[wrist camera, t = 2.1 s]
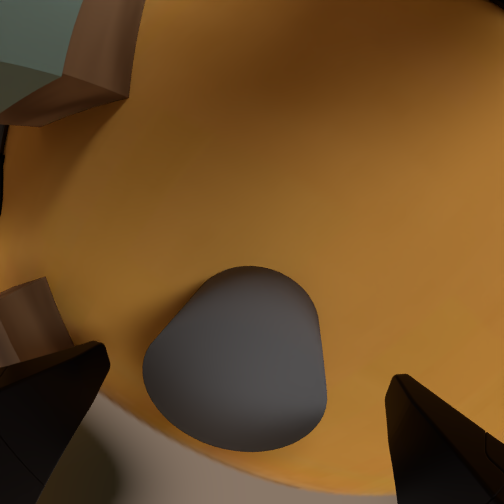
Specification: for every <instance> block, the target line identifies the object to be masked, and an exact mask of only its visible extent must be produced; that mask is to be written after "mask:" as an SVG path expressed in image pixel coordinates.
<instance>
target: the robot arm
mask: <svg viewBox="0 0 504 504" xmlns="http://www.w3.org/2000/svg"><path fill="white" fill-rule="evenodd" d="M490 1H492V2H494V3H495V4H497V5H499V6H500V7H502V8H503V9H504V0H490ZM109 369H110V361H109V357H108V354H107V351H106V347H105V345H104V344H103V343H100V342H97V341H90V342H87V343H84V344H81V345H78V346H74V347H71V348H68V349H64V350H61V351H58V352H54V353H51V354H47V355H44V356H40V357H37V358H33V359H30V360H26V361H23V362H19V363H15V364H12V365H9V366H4V367H0V504H36V502H37V500H38V499H39V497H40V495H41V493H42V491H43V489H44V487H45V485H46V483H47V481H48V479H49V477H50V475H51V473H52V472H53V469H54V468H55V466H56V464H57V462H58V461H59V459H60V457H61V455H62V454H63V452H64V450H65V448H66V446H67V445H68V443H69V441H70V440H71V438H72V436H73V435H74V433H75V431H76V430H77V428H78V426H79V425H80V423H81V421H82V419H83V418H84V416H85V415H86V413H87V411H88V410H89V408H90V407H91V405H92V403H93V402H94V399H95V398H96V396H97V394H98V391H99V389H100V387H101V385H102V383H103V381H104V379H105V377H106V375H107V373H108V371H109ZM385 408H386V418H387V431H388V443H389V450H390V455H391V461H392V467H393V473H394V480H395V487H396V495H397V503H398V504H504V444H503V443H502V442H500V441H499V440H497V439H496V438H495V437H493V436H492V435H490V434H489V433H488V432H486V433H485V430H483V429H482V428H481V427H479V426H478V425H476V424H475V423H474V422H472V421H471V420H470V419H468V418H467V417H465V416H464V415H463V414H461V413H460V412H459V411H457V410H456V409H454V408H453V407H452V406H450V405H449V404H448V403H446V402H445V401H444V400H442V399H441V398H439V397H438V396H437V395H435V394H434V393H433V392H431V391H430V390H429V389H427V388H426V387H424V386H423V385H422V384H420V383H419V382H418V381H416V380H415V379H414V378H412V377H411V376H409V375H408V374H396V375H394V376H393V378H392V380H391V383H390V385H389V388H388V390H387V393H386V396H385Z"/></svg>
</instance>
